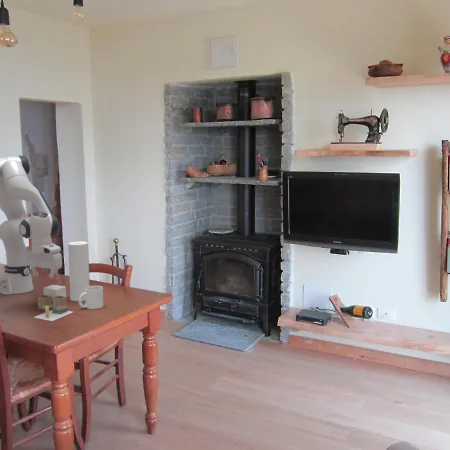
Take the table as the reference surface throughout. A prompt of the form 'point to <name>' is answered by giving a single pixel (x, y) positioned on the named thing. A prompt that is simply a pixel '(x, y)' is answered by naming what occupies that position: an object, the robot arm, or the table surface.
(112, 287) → the table surface
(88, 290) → the mug
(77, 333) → the table surface
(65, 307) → the sleeve seated
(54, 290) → the white box
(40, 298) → the sleeve
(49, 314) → the pin board
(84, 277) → the cylinder container
